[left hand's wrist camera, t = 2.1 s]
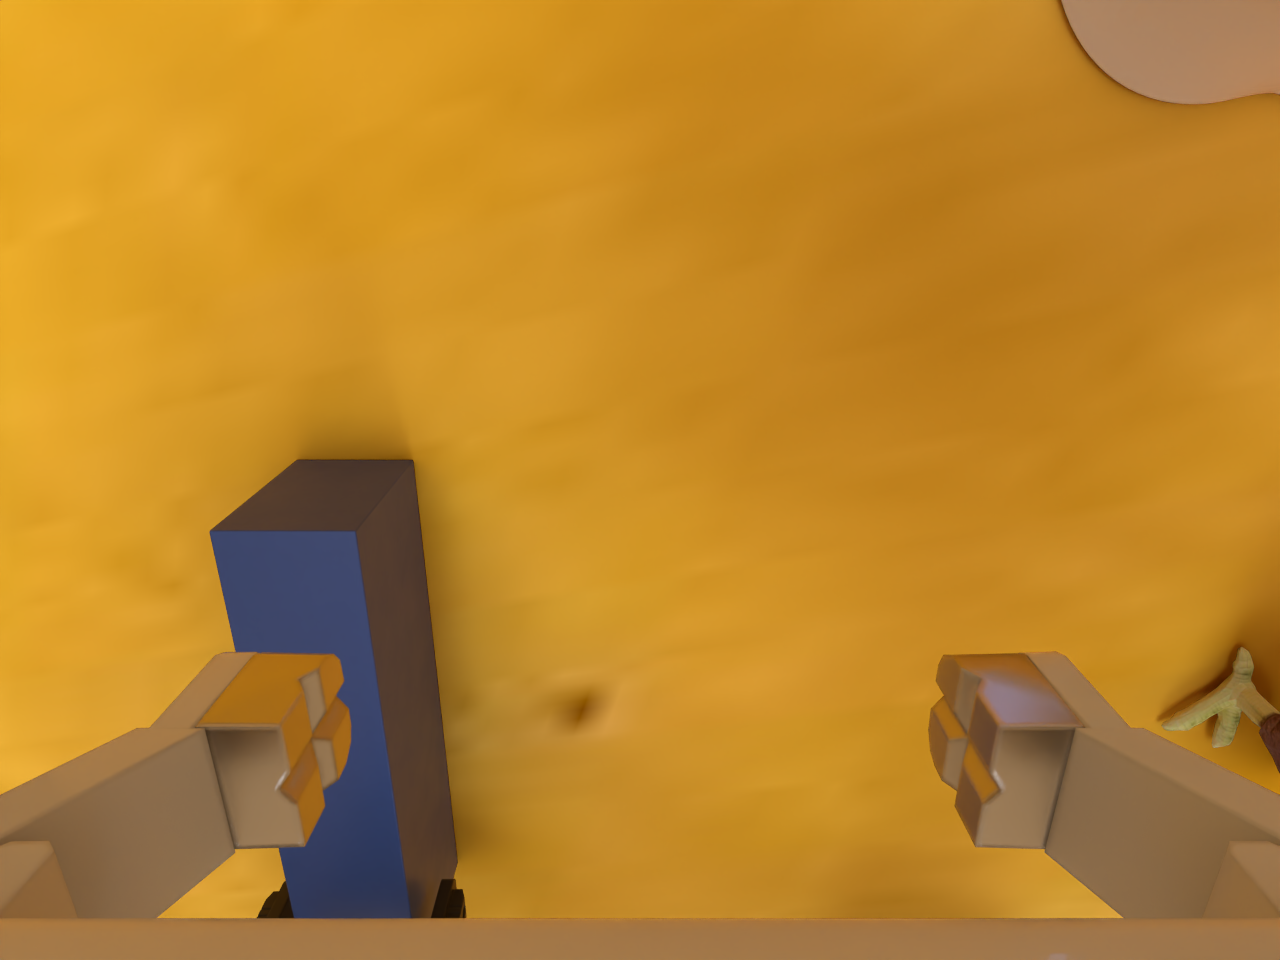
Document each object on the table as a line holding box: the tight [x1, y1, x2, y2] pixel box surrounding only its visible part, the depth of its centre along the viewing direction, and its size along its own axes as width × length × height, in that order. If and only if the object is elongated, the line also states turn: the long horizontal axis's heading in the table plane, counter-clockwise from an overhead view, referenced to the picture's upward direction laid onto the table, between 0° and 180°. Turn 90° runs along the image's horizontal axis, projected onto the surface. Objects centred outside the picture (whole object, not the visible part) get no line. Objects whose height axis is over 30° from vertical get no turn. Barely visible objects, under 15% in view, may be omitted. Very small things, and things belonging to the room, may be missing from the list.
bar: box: [210, 460, 458, 918], centre depth 40 cm, size 27×6×9 cm, turn 0°
